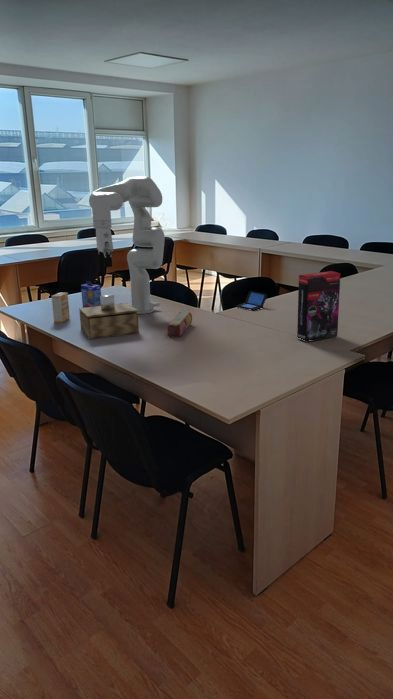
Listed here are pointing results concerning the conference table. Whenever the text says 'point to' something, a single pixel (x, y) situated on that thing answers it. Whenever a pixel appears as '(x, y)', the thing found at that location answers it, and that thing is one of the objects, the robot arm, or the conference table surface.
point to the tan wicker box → (109, 325)
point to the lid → (98, 312)
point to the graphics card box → (318, 305)
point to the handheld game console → (254, 301)
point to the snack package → (179, 324)
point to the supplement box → (60, 307)
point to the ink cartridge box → (90, 295)
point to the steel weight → (107, 302)
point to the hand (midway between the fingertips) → (105, 265)
